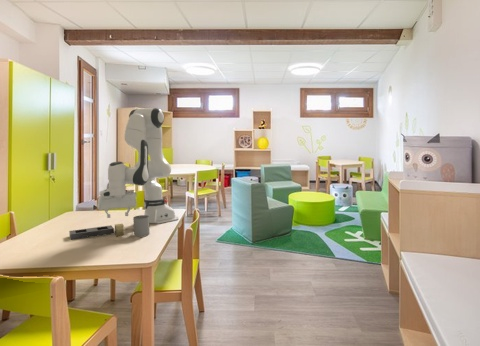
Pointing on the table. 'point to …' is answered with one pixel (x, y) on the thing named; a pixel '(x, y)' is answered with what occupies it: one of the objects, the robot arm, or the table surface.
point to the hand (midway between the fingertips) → (117, 216)
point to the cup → (141, 225)
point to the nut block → (119, 230)
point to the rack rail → (91, 232)
